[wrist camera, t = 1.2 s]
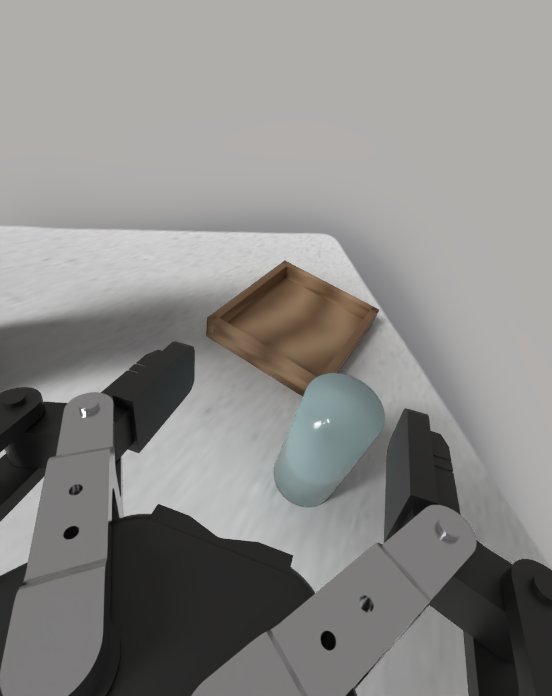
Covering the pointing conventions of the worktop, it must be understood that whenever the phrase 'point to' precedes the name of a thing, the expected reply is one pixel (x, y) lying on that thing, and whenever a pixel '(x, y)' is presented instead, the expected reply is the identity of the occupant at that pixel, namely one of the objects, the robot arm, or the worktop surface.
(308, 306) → the tray
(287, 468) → the pale blue cylinder
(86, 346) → the worktop surface
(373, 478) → the worktop surface
